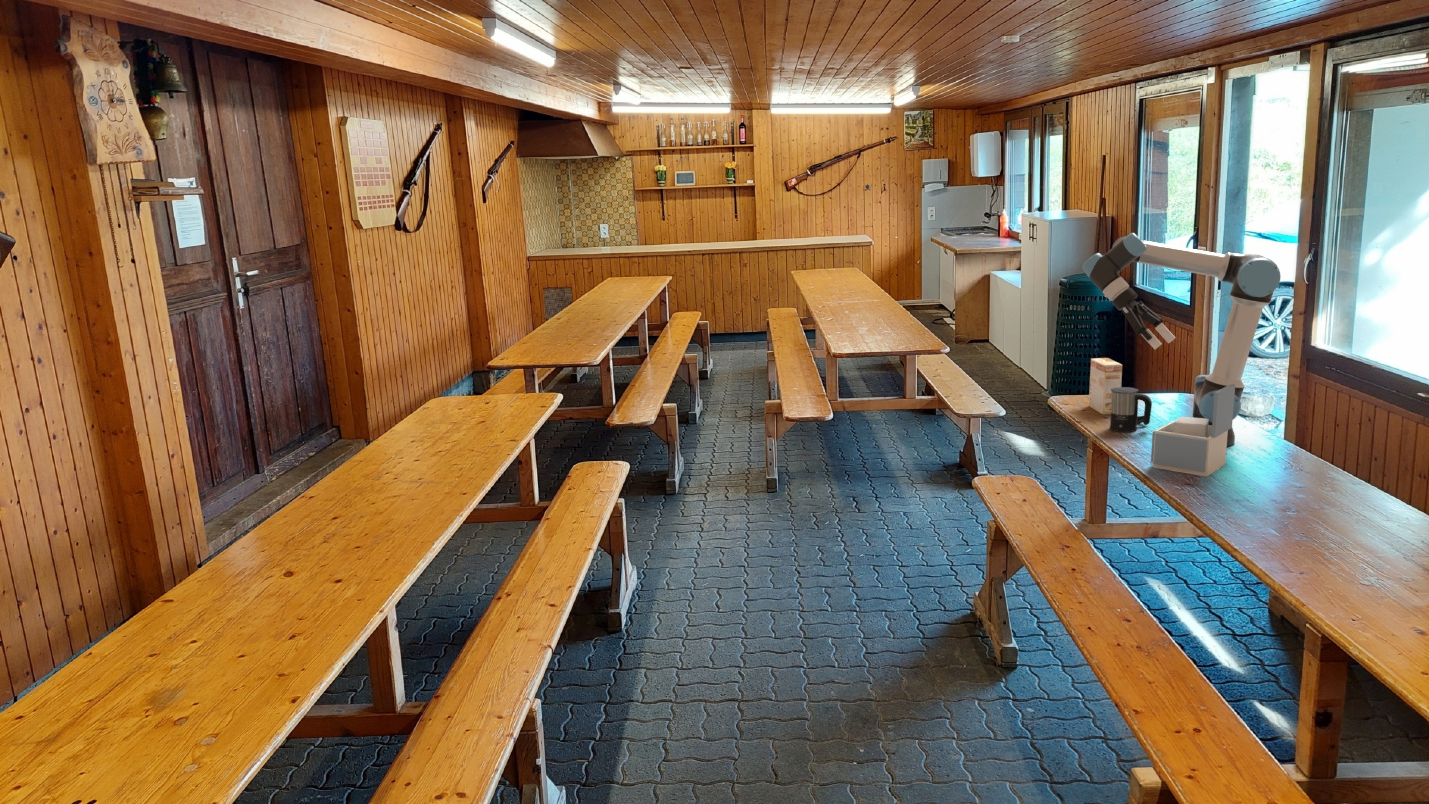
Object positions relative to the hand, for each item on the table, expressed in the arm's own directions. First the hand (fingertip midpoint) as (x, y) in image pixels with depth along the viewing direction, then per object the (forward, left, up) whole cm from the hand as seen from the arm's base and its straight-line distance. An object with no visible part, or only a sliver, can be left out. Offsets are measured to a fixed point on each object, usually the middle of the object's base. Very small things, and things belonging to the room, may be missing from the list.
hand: (1165, 343), depth 316 cm
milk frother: (-30, -22, -37) cm, 53 cm away
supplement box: (+6, +12, -37) cm, 40 cm away
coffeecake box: (-50, -40, -37) cm, 74 cm away
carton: (+6, +12, -37) cm, 40 cm away
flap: (+6, +21, -25) cm, 33 cm away
